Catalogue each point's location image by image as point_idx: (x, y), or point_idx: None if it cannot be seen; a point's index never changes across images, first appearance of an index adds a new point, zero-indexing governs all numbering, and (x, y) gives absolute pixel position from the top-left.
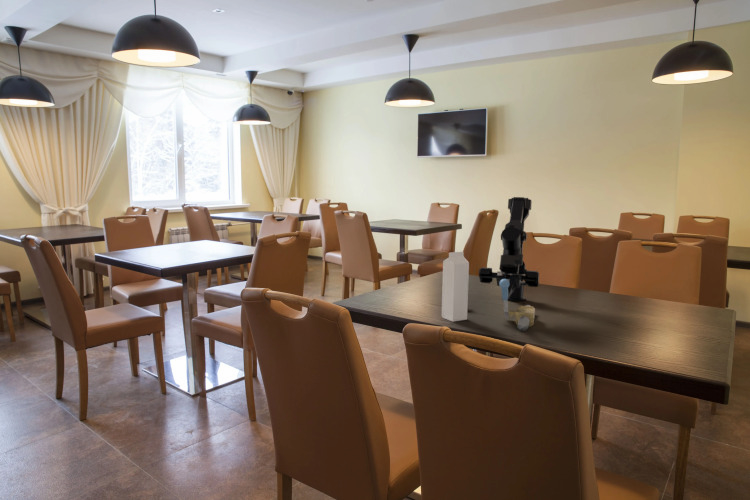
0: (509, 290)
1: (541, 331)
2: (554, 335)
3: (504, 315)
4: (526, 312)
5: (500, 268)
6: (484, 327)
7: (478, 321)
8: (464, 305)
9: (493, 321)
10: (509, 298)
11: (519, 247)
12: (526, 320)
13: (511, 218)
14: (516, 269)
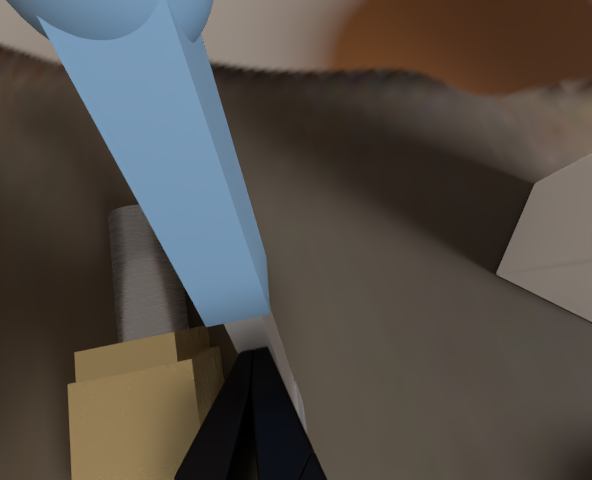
0: (202, 445)
1: (70, 278)
2: (6, 244)
3: (298, 390)
4: (113, 359)
5: None
6: (344, 181)
7: (421, 274)
8: (578, 235)
9: (348, 326)
10: None
11: None
12: (114, 250)
13: None
14: None
